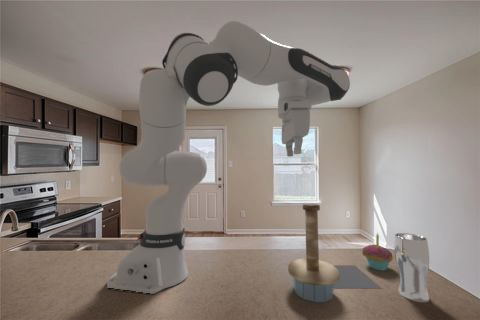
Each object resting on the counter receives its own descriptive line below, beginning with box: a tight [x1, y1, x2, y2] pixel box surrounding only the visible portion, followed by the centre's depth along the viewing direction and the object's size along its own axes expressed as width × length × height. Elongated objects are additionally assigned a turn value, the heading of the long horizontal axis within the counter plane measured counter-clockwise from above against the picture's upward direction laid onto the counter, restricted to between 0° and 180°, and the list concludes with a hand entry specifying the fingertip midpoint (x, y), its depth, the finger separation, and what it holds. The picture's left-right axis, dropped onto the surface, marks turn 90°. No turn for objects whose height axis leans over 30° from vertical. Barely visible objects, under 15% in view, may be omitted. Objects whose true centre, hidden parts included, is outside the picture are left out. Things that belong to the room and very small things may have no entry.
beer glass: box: [394, 232, 430, 303], centre depth 54 cm, size 7×7×15 cm
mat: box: [332, 264, 383, 290], centre depth 64 cm, size 14×14×1 cm
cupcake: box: [361, 232, 394, 271], centre depth 70 cm, size 9×8×12 cm
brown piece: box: [287, 203, 340, 286], centre depth 57 cm, size 13×13×18 cm
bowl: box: [292, 277, 335, 303], centre depth 56 cm, size 10×10×5 cm
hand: (293, 155), depth 64 cm, fingers open, 8 cm apart
